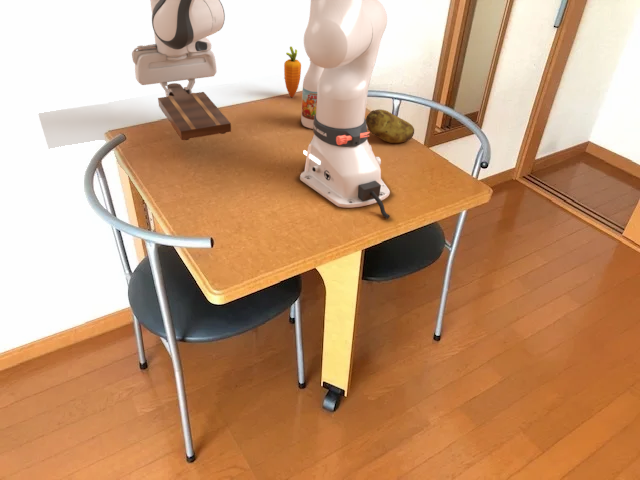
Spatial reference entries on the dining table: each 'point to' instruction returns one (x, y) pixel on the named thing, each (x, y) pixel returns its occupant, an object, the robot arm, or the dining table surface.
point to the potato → (389, 126)
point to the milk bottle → (310, 94)
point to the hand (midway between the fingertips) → (179, 95)
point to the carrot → (292, 73)
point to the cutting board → (193, 114)
